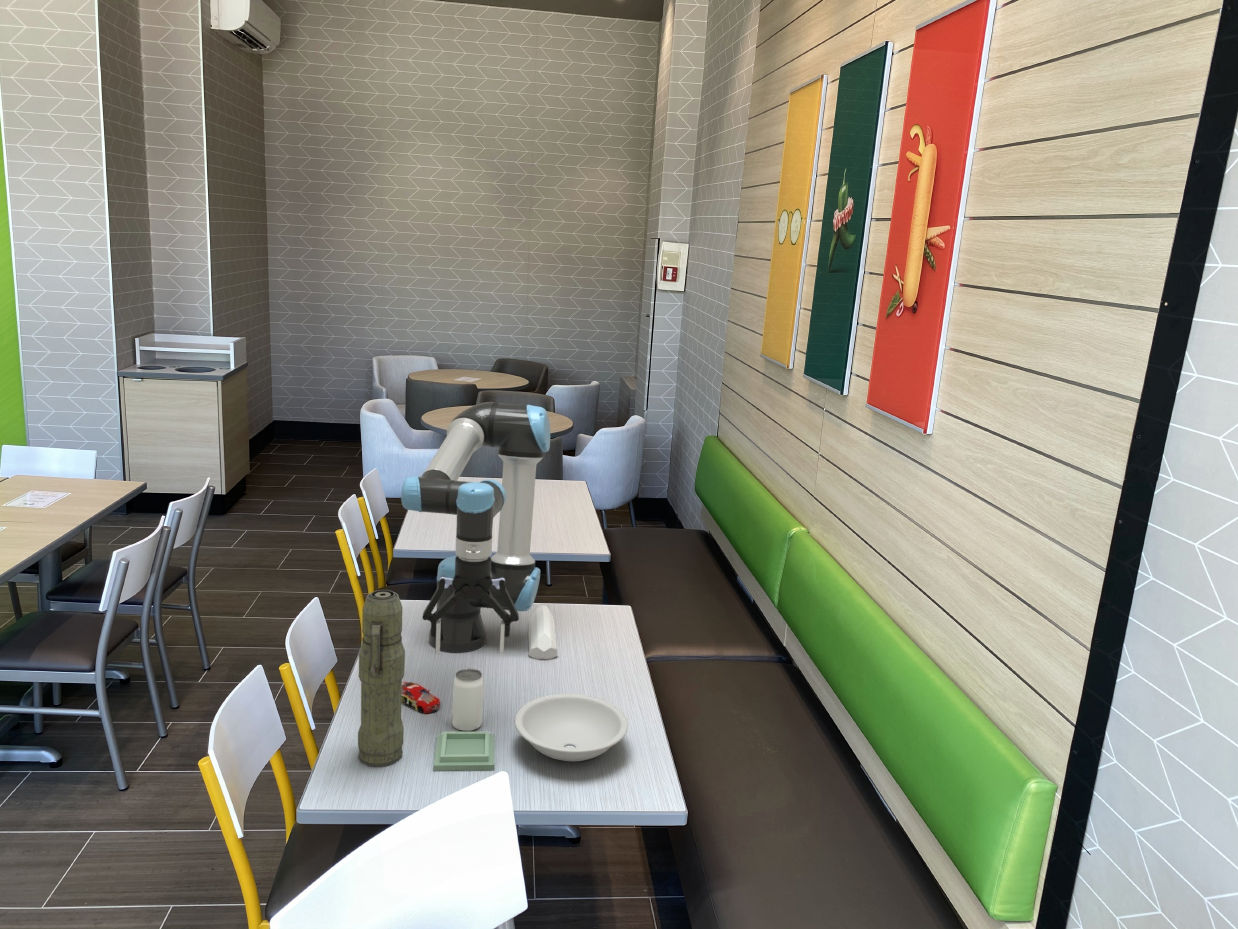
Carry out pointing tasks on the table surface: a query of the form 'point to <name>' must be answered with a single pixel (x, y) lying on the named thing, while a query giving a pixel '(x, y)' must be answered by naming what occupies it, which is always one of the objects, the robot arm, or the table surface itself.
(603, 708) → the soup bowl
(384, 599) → the thermos
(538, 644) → the crystal
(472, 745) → the baseplate
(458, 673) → the can
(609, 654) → the table surface
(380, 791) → the table surface
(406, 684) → the race car
